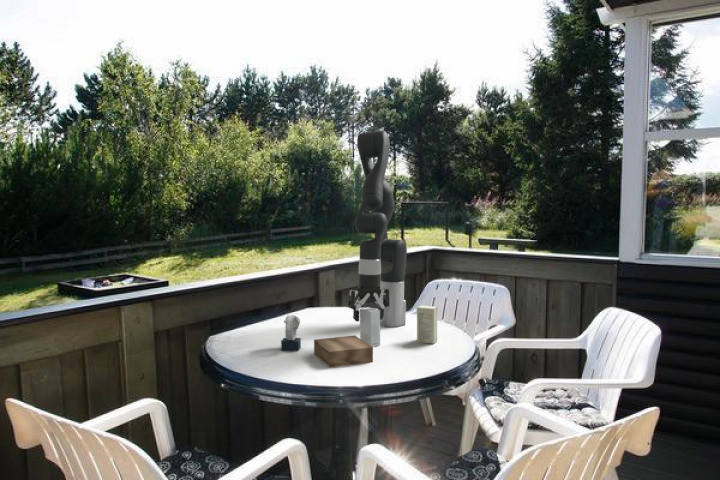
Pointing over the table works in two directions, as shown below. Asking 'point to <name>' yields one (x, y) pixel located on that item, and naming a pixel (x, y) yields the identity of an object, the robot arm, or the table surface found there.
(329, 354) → the walnut block
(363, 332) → the skincare box
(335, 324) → the table surface
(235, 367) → the table surface
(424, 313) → the skincare box
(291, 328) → the white bust on pedestal
